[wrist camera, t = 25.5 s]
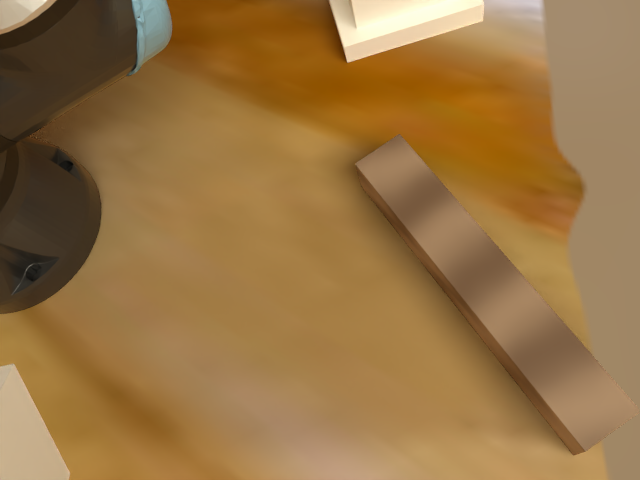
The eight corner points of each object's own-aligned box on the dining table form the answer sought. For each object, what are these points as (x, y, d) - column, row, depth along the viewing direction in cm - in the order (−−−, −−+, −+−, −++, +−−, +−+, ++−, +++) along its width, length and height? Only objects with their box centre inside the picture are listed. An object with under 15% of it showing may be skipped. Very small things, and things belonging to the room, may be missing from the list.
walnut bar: (361, 188, 49) (354, 163, 45) (403, 160, 49) (399, 133, 45) (572, 455, 39) (585, 451, 35) (623, 419, 39) (641, 411, 35)
